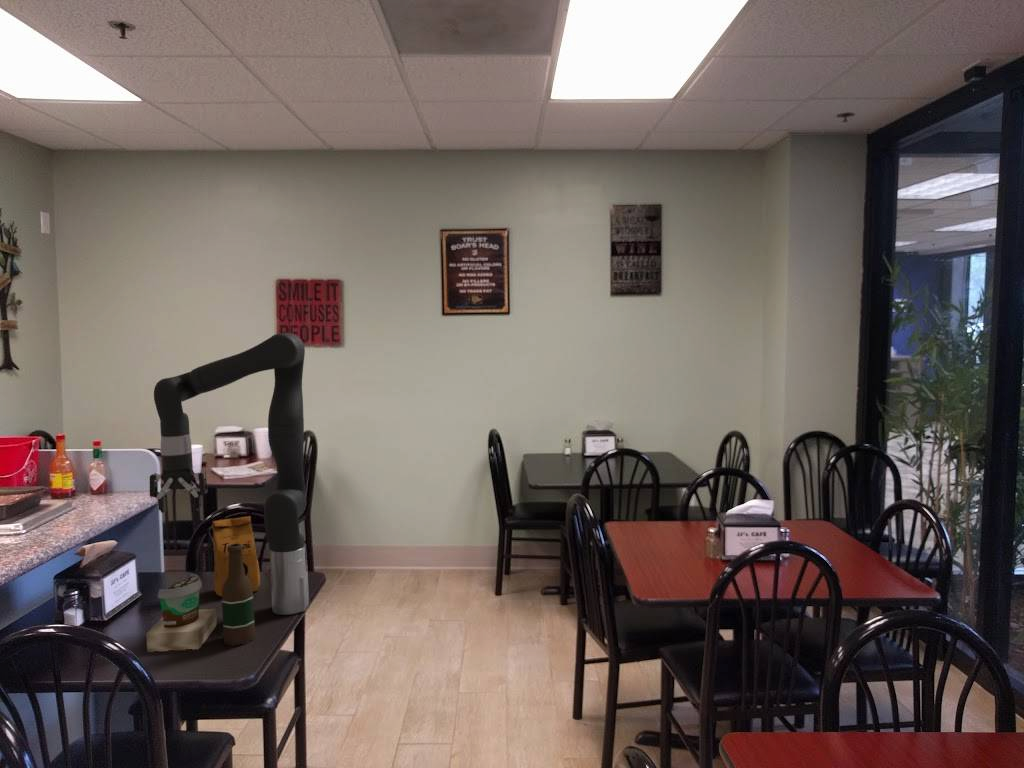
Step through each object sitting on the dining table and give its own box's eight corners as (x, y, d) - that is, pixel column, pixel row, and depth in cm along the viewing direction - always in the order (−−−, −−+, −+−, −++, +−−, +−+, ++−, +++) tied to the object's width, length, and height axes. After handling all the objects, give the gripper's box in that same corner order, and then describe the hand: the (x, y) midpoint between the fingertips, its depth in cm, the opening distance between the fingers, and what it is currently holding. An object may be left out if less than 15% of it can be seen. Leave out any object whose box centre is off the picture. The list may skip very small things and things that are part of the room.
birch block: (216, 627, 193) (215, 608, 192) (199, 651, 179) (198, 631, 178) (168, 630, 192) (167, 611, 191) (147, 654, 178) (146, 634, 177)
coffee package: (261, 593, 215) (257, 519, 213) (215, 601, 210) (211, 524, 208) (258, 582, 224) (254, 511, 222) (214, 589, 219) (209, 516, 217)
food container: (181, 632, 178) (179, 592, 177) (159, 630, 179) (157, 590, 179) (214, 612, 190) (212, 574, 189) (193, 610, 191) (191, 572, 190)
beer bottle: (230, 632, 188) (225, 540, 186) (261, 632, 188) (256, 540, 185) (217, 646, 180) (212, 550, 178) (249, 646, 180) (244, 549, 178)
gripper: (208, 448, 202) (211, 506, 204) (153, 450, 201) (157, 508, 202) (199, 453, 195) (203, 513, 196) (143, 455, 193) (147, 516, 195)
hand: (180, 511), depth 199 cm, fingers open, 8 cm apart
